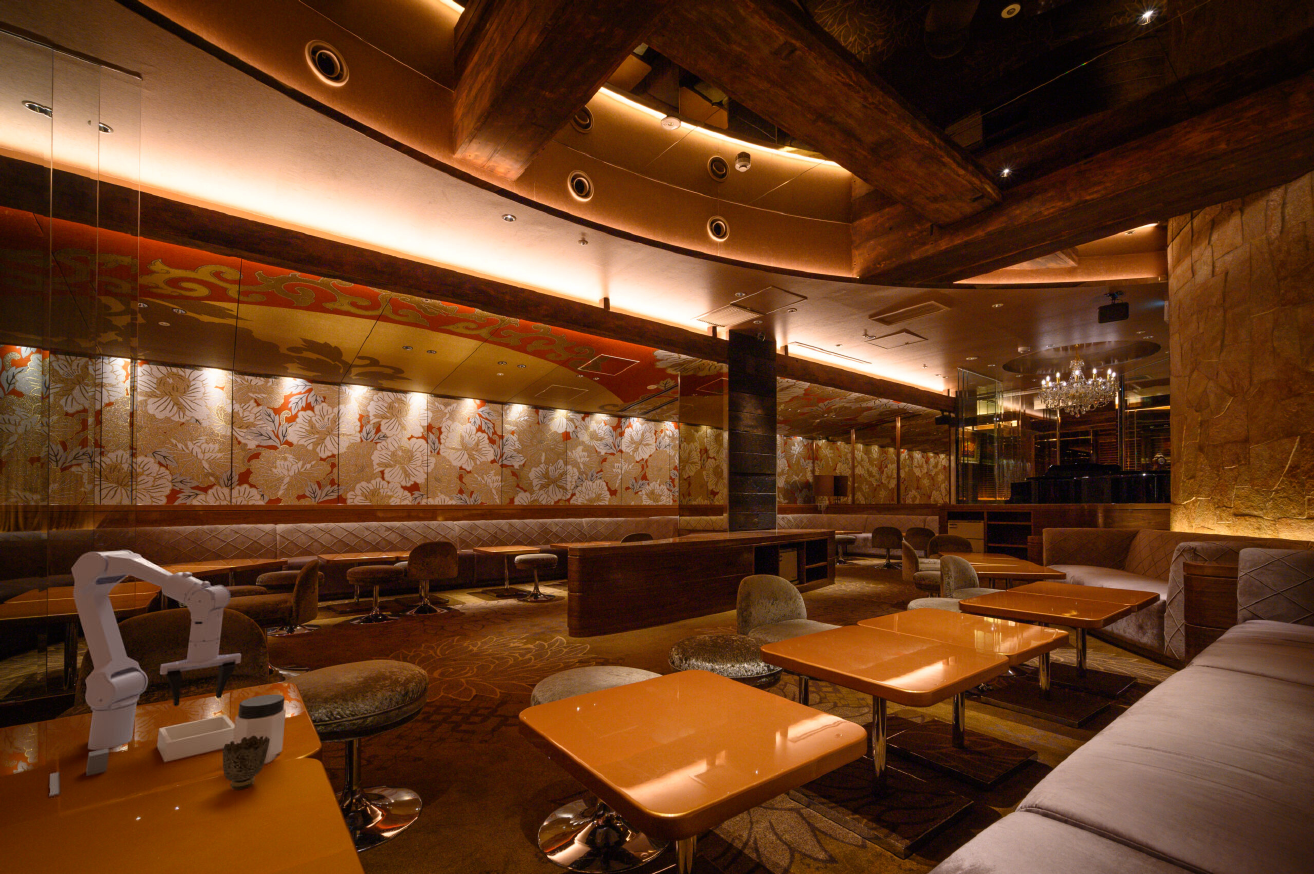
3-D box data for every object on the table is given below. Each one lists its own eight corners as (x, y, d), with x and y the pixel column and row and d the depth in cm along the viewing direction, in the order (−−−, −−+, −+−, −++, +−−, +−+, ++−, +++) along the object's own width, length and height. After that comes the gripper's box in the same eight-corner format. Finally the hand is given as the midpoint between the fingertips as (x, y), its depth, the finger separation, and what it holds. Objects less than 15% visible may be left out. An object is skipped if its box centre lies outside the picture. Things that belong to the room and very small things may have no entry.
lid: (49, 779, 112) (53, 752, 112) (134, 759, 121) (138, 735, 122) (48, 800, 103) (53, 771, 104) (140, 778, 112) (144, 751, 113)
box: (156, 749, 125) (159, 728, 125) (223, 734, 133) (225, 714, 134) (164, 765, 116) (166, 742, 117) (234, 748, 125) (236, 727, 126)
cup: (228, 799, 102) (233, 753, 104) (210, 789, 106) (215, 744, 108) (273, 783, 109) (277, 739, 110) (255, 774, 113) (259, 732, 114)
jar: (228, 771, 114) (235, 709, 116) (231, 757, 121) (238, 698, 123) (281, 761, 119) (287, 701, 121) (281, 748, 126) (286, 691, 127)
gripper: (166, 647, 123) (158, 712, 121) (246, 637, 134) (240, 697, 132) (162, 642, 128) (154, 705, 126) (239, 633, 138) (233, 691, 136)
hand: (197, 700), depth 129 cm, fingers open, 7 cm apart
